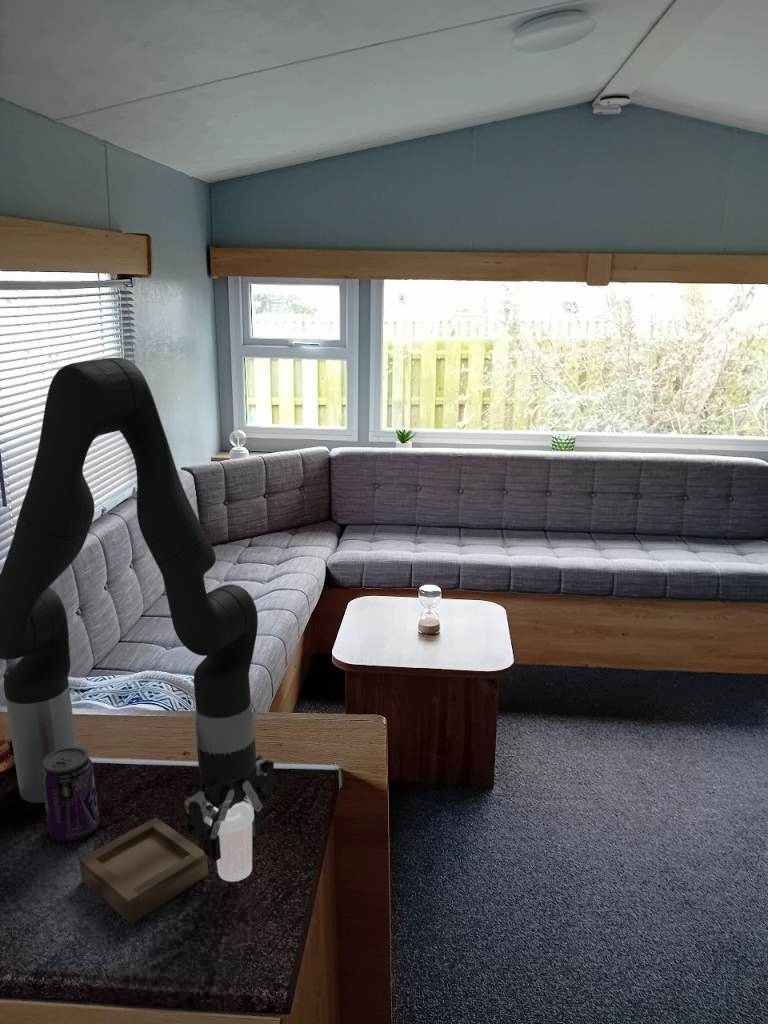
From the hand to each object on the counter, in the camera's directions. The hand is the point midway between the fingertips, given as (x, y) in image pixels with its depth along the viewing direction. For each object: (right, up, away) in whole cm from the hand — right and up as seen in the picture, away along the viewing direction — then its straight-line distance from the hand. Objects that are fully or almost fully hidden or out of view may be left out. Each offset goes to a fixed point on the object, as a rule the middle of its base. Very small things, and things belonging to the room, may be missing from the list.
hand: (233, 844), depth 116 cm
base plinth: (-12, -4, 0) cm, 13 cm away
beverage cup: (0, -4, +1) cm, 4 cm away
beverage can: (-25, -2, +10) cm, 27 cm away
